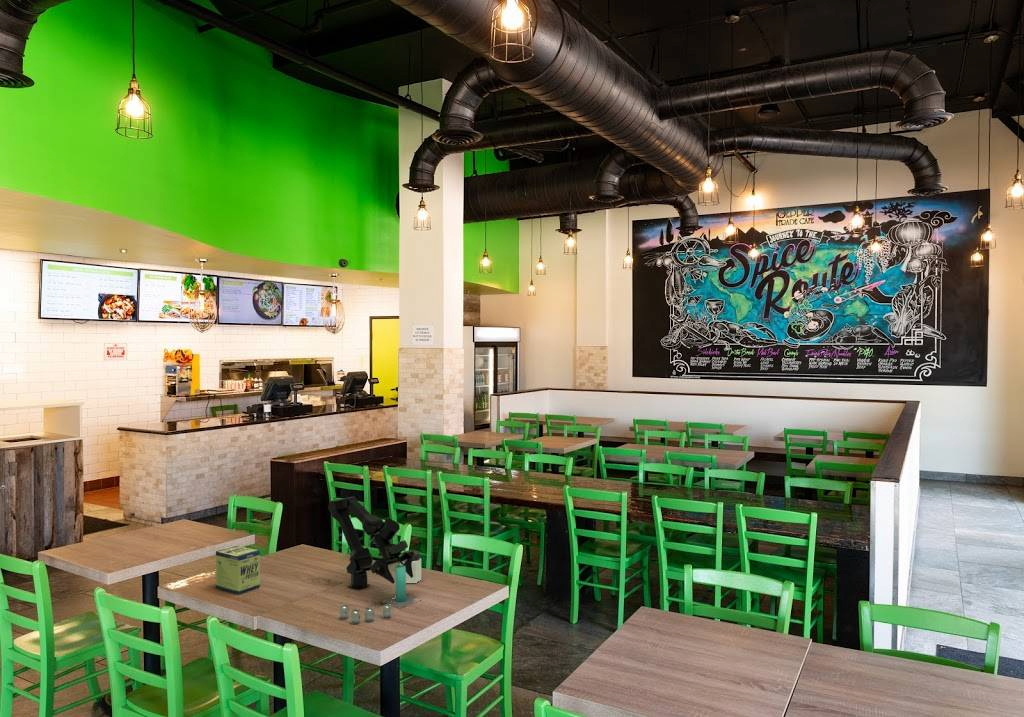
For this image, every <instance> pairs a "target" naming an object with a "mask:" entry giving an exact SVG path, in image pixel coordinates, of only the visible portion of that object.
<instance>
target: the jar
mask: <svg viewBox="0 0 1024 717" xmlns="http://www.w3.org/2000/svg"><path fill="white" fill-rule="evenodd" d="M407 551H413V552H414V553H415V555H416V556H415V557H414V559H413V560H412V572H413V577H412V578H411V577H410V576H409V575H408V574H407V572H406V583H416V584H417V582H418V581H419V582H421V581H422V558H421V552H420V551H419V550H414V549H411V550H406V551H402V552H401V555H400V557H401V556H402V555H403V554H404V552H407ZM400 565H402V564H401V563H400V562H399V566H400ZM420 580H421V581H420ZM419 582H418V583H419Z"/></svg>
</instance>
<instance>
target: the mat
mask: <svg viewBox="0 0 1024 717" xmlns="http://www.w3.org/2000/svg"><path fill="white" fill-rule="evenodd" d="M415 598H416V597H414V596H411V595H408V594H406V601H404V602H397V601H396V598H395V599H392V598H391V597H389V598H386V599H383V600H381V601H382V602H384V603H387V604H391V605H394V606H397V607H396V608H398V607H403V608H405V607H404V606H406V605H408V604H411V603H413V602H414V601H415ZM413 599H414V601H413ZM391 601H392V602H391ZM394 602H395V603H394ZM384 603H383V604H384ZM387 604H386V605H387ZM413 604H414V603H413ZM411 605H412V604H411ZM394 606H393V607H394ZM408 606H409V605H408ZM406 607H407V606H406Z"/></svg>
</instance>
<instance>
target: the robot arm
mask: <svg viewBox="0 0 1024 717" xmlns="http://www.w3.org/2000/svg"><path fill="white" fill-rule="evenodd" d="M327 506H328V507H327V508H328V511H329V513H330V515H331V517H332V518H333V519H334V520H336V521H337V522H338V524H339V527H340V529H341V531H342V534H343V537H344V538H345V541H346V544H347V545H348V549H349V551H350V555H349V564H348V565H347V566H346V573H347V574H350V584H349V585H347V586H348V588H350V587H351V588H350V589H354V590H357V589H359V590H361V588H362V589H364V588H363V587H365V588H367V587H366V586H368V587H370V586H369V585H371V584H369V583H368V573H367V572H368V571H371V573H372V574H375V575H376V576H377V575H378V576H380V577H382V578H384V579H385V580H387V581H388V582H390V583H391V584H396V583H395V579H394V577H393V574H392V573H391V571H390V569H389V566H391V565H394V564H397V563H399V564H400V563H401V564H402V565H403V566H406V572H407V574H408V575H409V576H410V577H411V578H412V577H413V572H412V560H413V559H414V557H415V556H416V555H415V553H414V552H413V551H409V550H406V549H407V548H408V546H409V544H408V543H407V542H408V541H406V540H405V539H404V540H401V541H399V543H397V544H396V543H392V541H391V540H393V539H394V537H395V536H396V535H397V533H398V532H399V531H400V524H399V522H397V521H396V520H394V519H392V518H391V517H387V518H386V519H385V521H384V520H383V519H382V518H381V517H379V516H377V515H373V514H371V513H370V512H369V511H368V510H367V508H365V507H364V506H363V505H362V504H361V503H360V502H359V501H358V499H357V498H356V497H355V496H350V497H345V498H340V499H334V500H331V501H330V502H329V504H328V505H327ZM351 513H352V515H353V516H354V517H355V518H356V519H357V520H358V521H359V522H360V523H361V525H362V526H361V527H362V530H363V531H364V532H365V534H367V536H372V538H371V541H370V545H375V546H376V548H377V550H378V552H379V553H377V554H378V557H381V558H379V559H375V561H374V562H373V558H372V557H373V555H372V554H371V552H370V548H369V547H363V545H362V543H361V541H360V538H359V536H358V533H357V531H356V528H355V526H354V524H353V522H352V518H351V516H350V514H351ZM373 535H375V536H373ZM404 551H407V552H404ZM402 552H404V554H403V555H402V556H401V553H402Z"/></svg>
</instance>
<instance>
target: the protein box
mask: <svg viewBox="0 0 1024 717" xmlns="http://www.w3.org/2000/svg"><path fill="white" fill-rule="evenodd" d="M260 553H261V551H260V550H259V549H253V548H249V547H245V546H244V547H243V546H240V545H235V546H231V547H227V548H223V549H219V550H216V551H215V589H217V590H221V591H225V592H227V593H231V594H234V593H235V594H234V595H238V594H240V595H241V594H242V593H243V594H245V592H246V593H248V591H249V592H252V591H254V589H255V590H257V589H256V588H258V589H260V588H261V554H260ZM259 587H260V588H259ZM251 590H252V591H251ZM243 594H242V595H243Z"/></svg>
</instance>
